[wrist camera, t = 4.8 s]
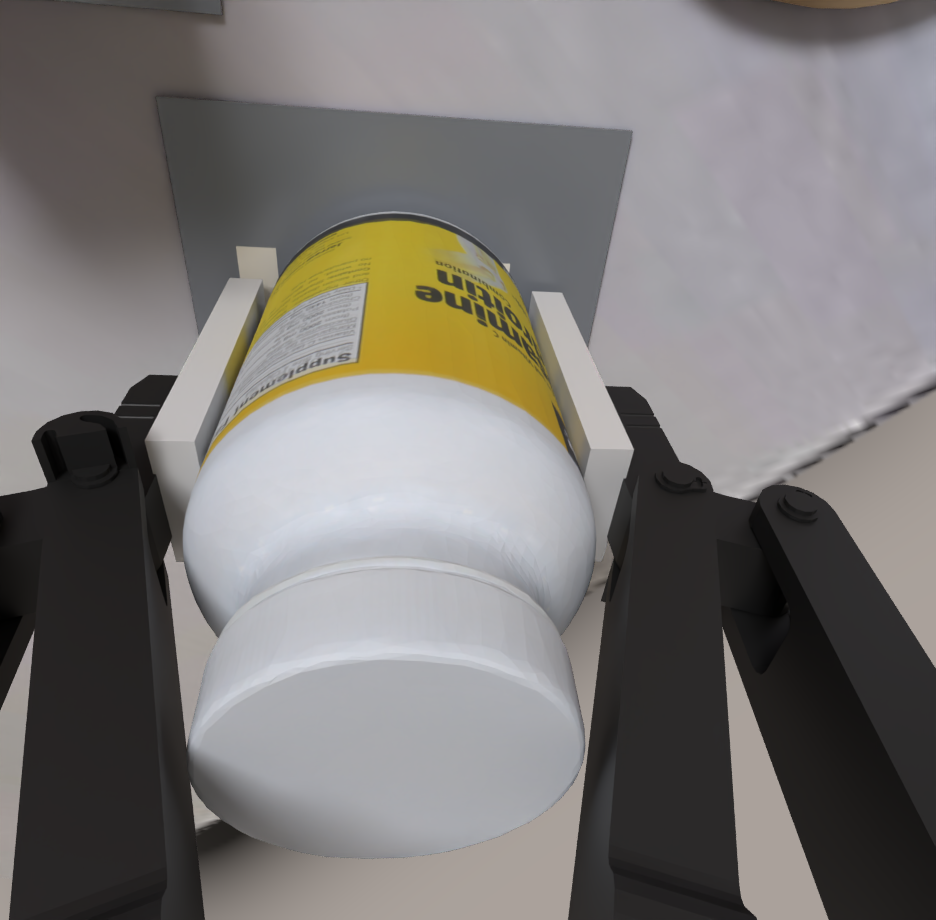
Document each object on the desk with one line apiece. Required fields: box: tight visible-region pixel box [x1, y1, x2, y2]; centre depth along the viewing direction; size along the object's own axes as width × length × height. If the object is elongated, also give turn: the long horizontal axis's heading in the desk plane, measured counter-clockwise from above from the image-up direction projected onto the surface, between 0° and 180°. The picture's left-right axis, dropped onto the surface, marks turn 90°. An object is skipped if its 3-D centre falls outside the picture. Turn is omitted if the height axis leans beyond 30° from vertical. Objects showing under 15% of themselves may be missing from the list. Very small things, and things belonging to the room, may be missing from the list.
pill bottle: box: [183, 211, 596, 859], centre depth 12 cm, size 6×6×12 cm
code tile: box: [156, 96, 633, 347], centre depth 17 cm, size 10×10×1 cm
